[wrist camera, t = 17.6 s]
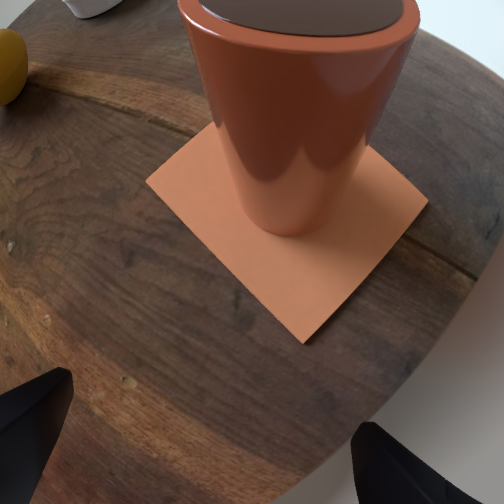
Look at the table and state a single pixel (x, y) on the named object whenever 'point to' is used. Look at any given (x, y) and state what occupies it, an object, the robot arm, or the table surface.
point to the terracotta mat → (290, 247)
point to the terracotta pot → (297, 95)
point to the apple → (12, 65)
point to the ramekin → (90, 7)
